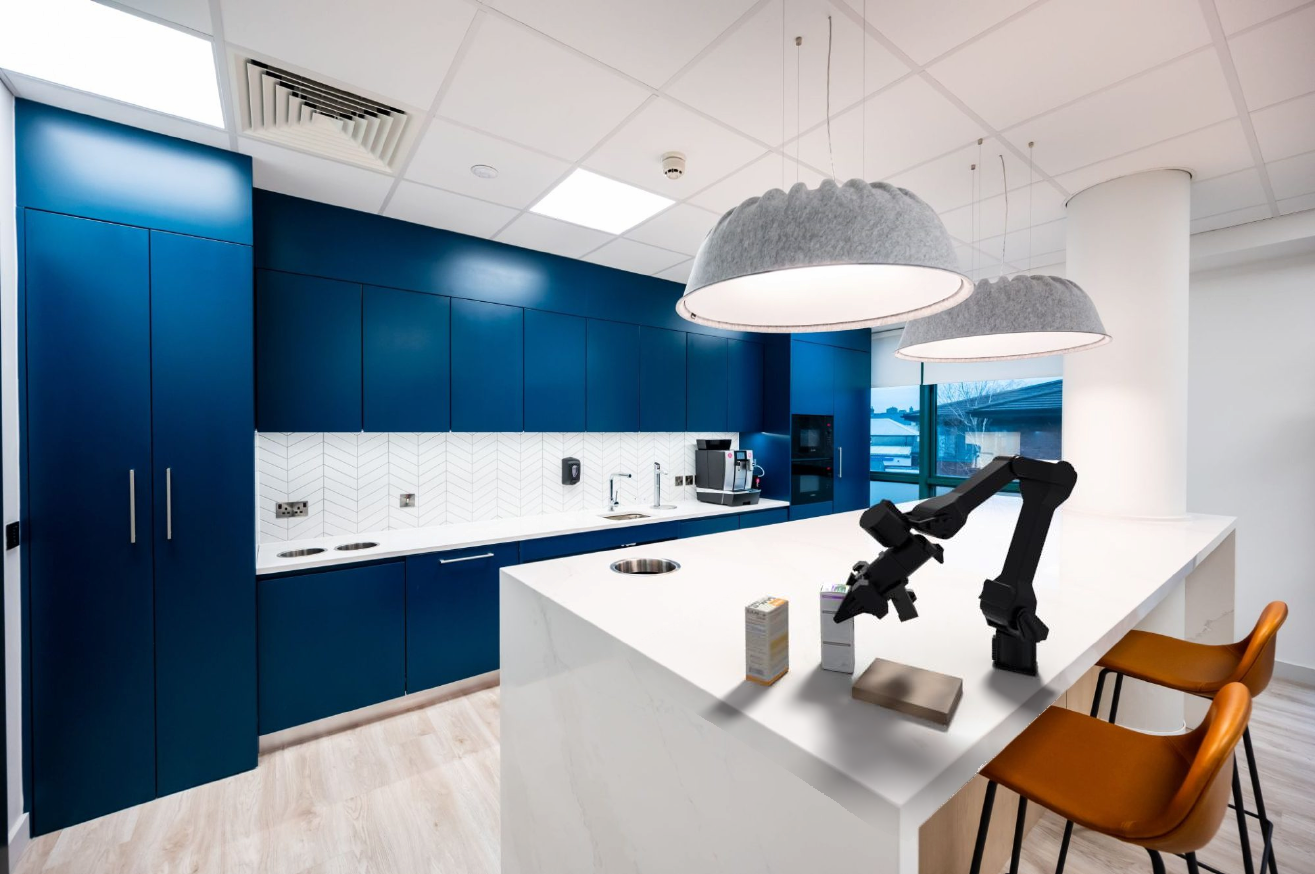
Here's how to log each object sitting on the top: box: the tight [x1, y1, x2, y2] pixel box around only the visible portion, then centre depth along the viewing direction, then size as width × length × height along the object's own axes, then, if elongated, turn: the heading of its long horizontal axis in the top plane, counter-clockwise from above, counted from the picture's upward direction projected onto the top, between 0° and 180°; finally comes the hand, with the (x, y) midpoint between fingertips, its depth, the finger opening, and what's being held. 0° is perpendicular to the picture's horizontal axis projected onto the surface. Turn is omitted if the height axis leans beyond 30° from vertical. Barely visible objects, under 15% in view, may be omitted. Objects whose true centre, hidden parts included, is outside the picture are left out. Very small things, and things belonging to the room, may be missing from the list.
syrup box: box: [819, 583, 856, 674], centre depth 100 cm, size 6×6×14 cm
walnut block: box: [851, 656, 964, 727], centre depth 90 cm, size 14×14×2 cm
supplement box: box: [744, 595, 790, 687], centre depth 97 cm, size 8×5×13 cm, turn 141°
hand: (835, 616), depth 101 cm, fingers closed on syrup box, 6 cm apart
